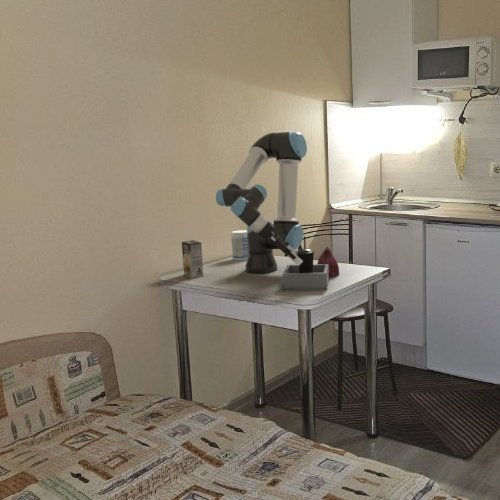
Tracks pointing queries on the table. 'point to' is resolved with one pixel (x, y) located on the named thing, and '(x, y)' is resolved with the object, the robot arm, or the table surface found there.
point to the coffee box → (192, 258)
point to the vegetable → (329, 262)
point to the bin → (306, 278)
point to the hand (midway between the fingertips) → (299, 260)
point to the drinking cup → (305, 259)
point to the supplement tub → (239, 245)
